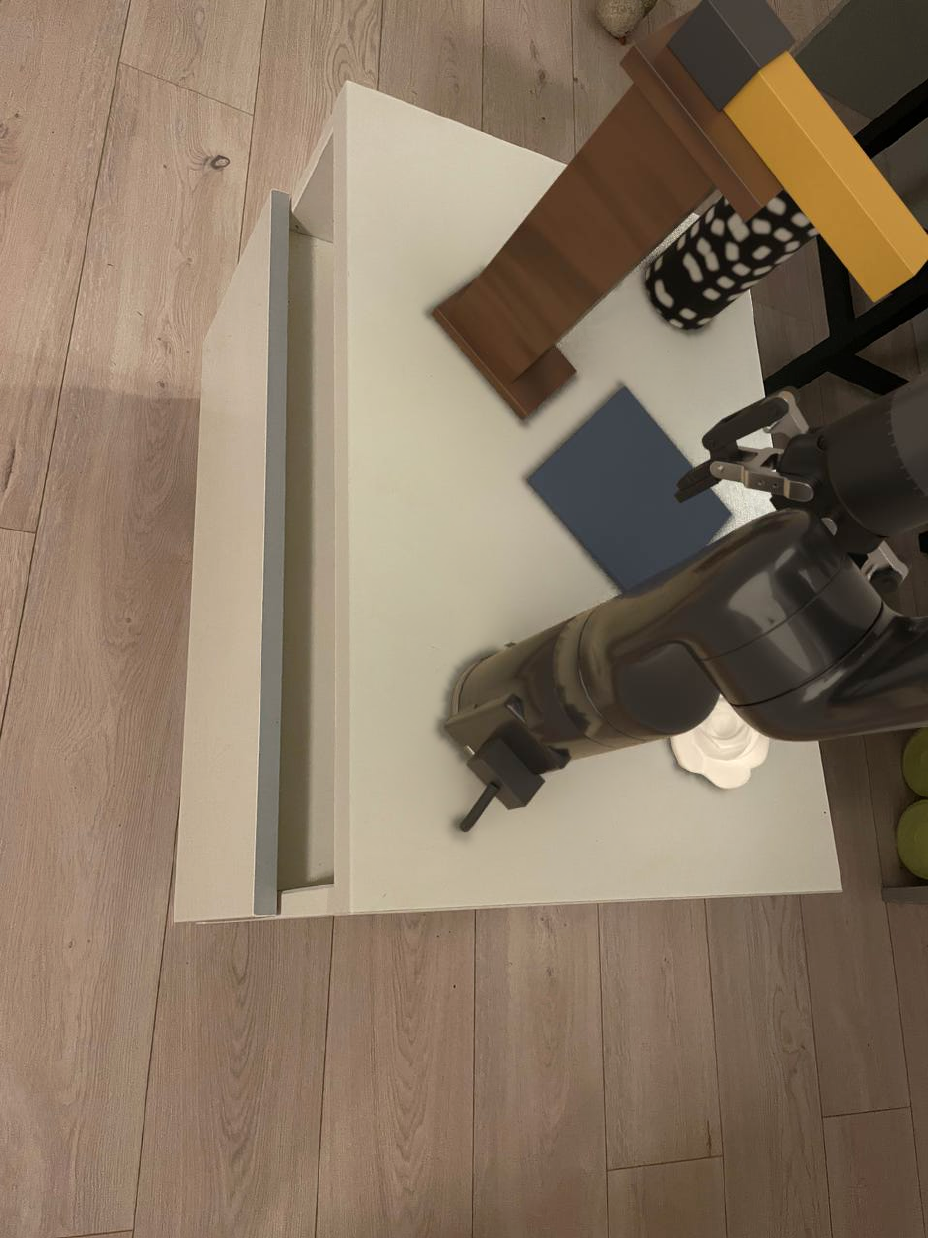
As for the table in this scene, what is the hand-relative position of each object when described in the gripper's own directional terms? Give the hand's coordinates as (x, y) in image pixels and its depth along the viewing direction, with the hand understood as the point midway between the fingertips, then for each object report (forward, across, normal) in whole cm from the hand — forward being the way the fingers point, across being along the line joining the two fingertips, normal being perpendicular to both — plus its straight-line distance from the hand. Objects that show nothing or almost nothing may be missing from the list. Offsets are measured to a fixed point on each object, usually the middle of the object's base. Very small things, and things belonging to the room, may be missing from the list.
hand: (716, 544), depth 63 cm
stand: (+17, -21, +13) cm, 30 cm away
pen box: (-12, -18, +11) cm, 24 cm away
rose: (+16, +16, +5) cm, 24 cm away
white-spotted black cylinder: (+15, -16, +36) cm, 42 cm away
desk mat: (+16, -3, +14) cm, 22 cm away
